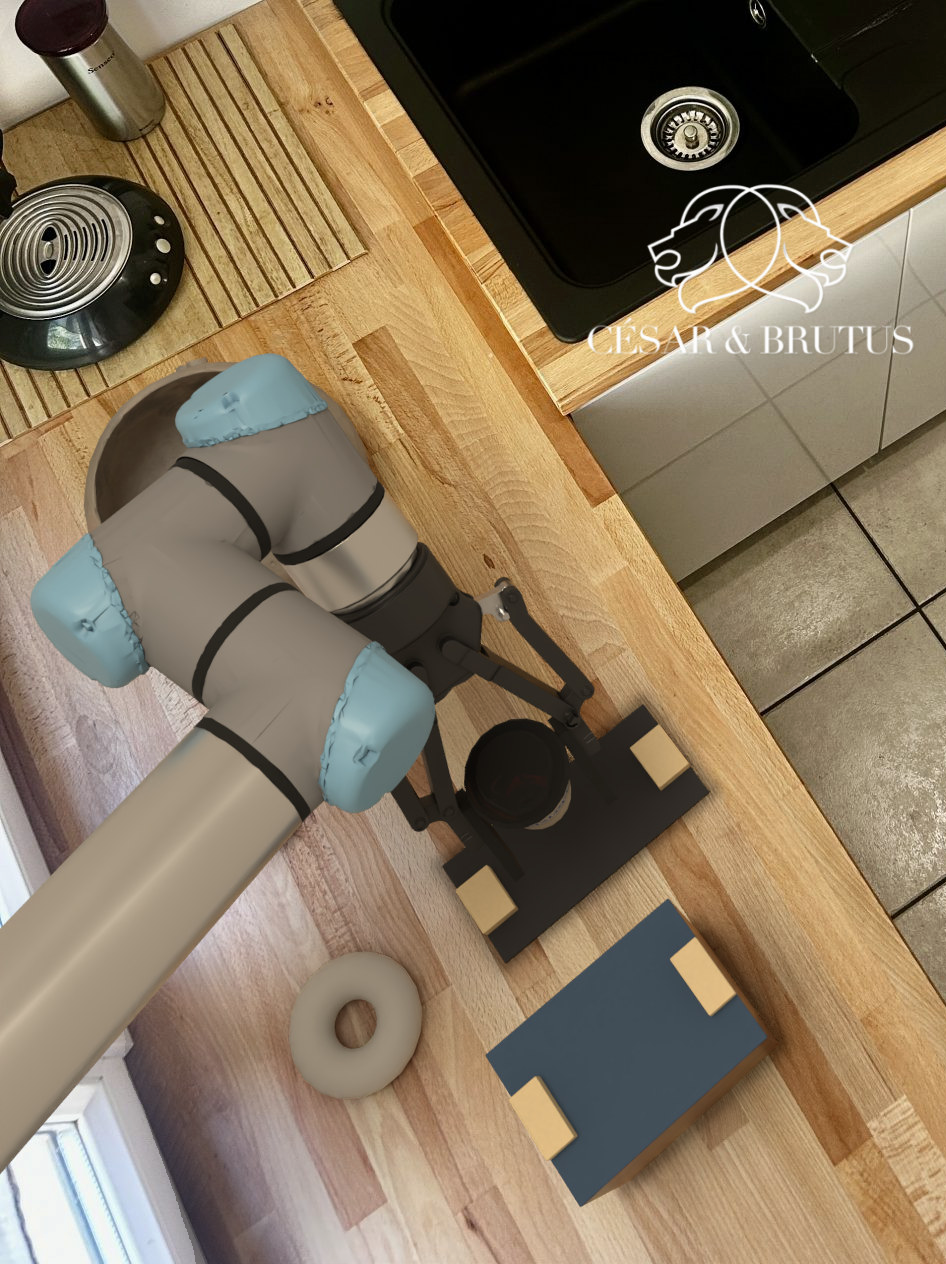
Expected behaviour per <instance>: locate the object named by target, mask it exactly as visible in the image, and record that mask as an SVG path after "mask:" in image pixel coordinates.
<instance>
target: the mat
mask: <svg viewBox="0 0 946 1264" xmlns="http://www.w3.org/2000/svg"><path fill="white" fill-rule="evenodd" d="M597 740H598V741H599V743H600V748H601V750H599V751H598V752H597V753H596V754H595V755H593V756H592V757H591V758H590V761H591V762H592V763H593V765H594V766H595V768H596V769H597V770H598V772H599V773H600V774H601V776H602V777H603V779H604V780H605V781H606V783H607V784H608V786H609V787H610V788H611V790H612V791H613V792H614V794H615V795H616V797H617V798H618V799H617V800H615V801H614V802H613V803H612V804H610V805H608V804H607V803H606V801H605V800H604V798H603V797H602V796H601V794H600V793H599V792H598V790H597V789H596V787H595V786H594V785H593V783H592V782H591V781H590V779H589V778H588V776H587V775H586V774H585V772H584V771H583V770H582V768H581V767H580V765H579V764H578V763H577V761H576V760H575V759H574V758H573V760H571V761H570V786H571V800H570V803H569V806H568V809H567V811H566V812H565V814H564V815H563V816H562V818H561V819H560V820H559V821H557V822H556V823H555V824H554V825H552V826H549V827H547V828H544V829H534V830H532V829H525V828H521V829H504V828H501V827H497V826H494V825H492V826H493V828H494V829H495V830H496V832H497V833H498V834H499V836H500V837H501V838H502V840H503V841H504V842H505V843H506V845H507V846H508V847H509V849H510V850H511V851H512V853H513V854H514V855H515V857H516V859H517V861H518V863H519V865H520V866H521V868H522V870H523V872H524V874H525V875H524V876H523V877H522V878H520V879H519V880H518V881H517V882H515V881H514V880H513V878H512V877H511V876H510V874H509V873H508V872H507V871H506V869H505V868H504V867H503V865H502V864H501V863H500V862H499V860H498V859H497V858H496V856H495V855H494V854H493V852H492V851H491V850H490V849H489V847H488V846H487V845H486V843H485V844H484V845H482V846H481V847H480V848H479V849H477V850H476V851H475V852H472V851H470V850H468V849H467V848H466V847H465V846H464V848H463V849H461V850H460V851H459V852H458V853H456V854H455V855H454V856H453V857H451V858H450V859H449V860H448V861H446V862H445V863H444V864H443V865H442V869H443V870H444V872H445V873H446V875H447V877H448V878H449V880H450V881H451V883H452V885H454V887H455V890H454V892H455V893H456V895H457V896H458V898H459V899H460V901H461V902H462V904H463V906H464V907H465V909H466V910H467V912H468V913H469V915H470V916H471V918H472V919H473V921H474V923H475V924H476V926H477V927H478V929H479V930H480V931H481V933H482V935H485V936H487V938H488V939H489V941H490V942H491V944H492V946H493V947H494V949H495V951H496V952H497V953H498V955H499V956H500V958H501V960H502V961H503V962H504V964H508V963H509V962H510V961H512V960H513V959H514V958H515V957H516V956H518V954H520V953H522V951H524V949H526V948H527V947H528V946H530V944H532V943H533V942H534V941H535V940H537V939H538V938H539V937H540V936H541V935H543V934H544V933H545V932H546V931H547V930H548V929H549V928H551V927H552V926H553V925H554V924H556V923H557V922H558V921H560V919H561V918H563V917H564V916H565V915H567V913H569V912H570V911H571V910H572V909H573V908H575V907H576V906H577V905H578V904H579V903H580V902H581V901H583V900H584V899H585V898H587V896H589V895H590V894H591V893H592V892H594V891H595V890H596V889H597V888H599V886H601V885H602V884H604V882H606V881H607V880H608V879H609V878H610V877H611V876H613V875H614V874H615V873H616V872H618V871H619V870H620V869H621V868H622V867H624V866H625V864H627V863H628V862H629V861H631V859H633V858H634V857H635V856H637V854H639V853H640V852H641V851H642V850H643V849H645V848H646V847H647V846H648V845H649V844H651V842H653V841H654V840H655V839H657V838H658V837H659V836H660V835H661V834H662V833H664V832H665V831H666V830H667V829H668V828H669V827H671V826H672V825H673V824H674V823H676V822H677V821H678V820H679V819H680V818H682V817H683V816H684V815H685V814H686V813H688V812H689V811H690V810H691V809H692V808H693V807H694V806H696V805H697V804H698V803H699V802H700V801H702V800H703V799H704V798H706V796H708V794H710V791H709V789H708V788H707V786H706V785H705V783H704V782H703V781H702V780H701V779H700V777H699V776H698V775H697V773H696V771H694V769H693V768H692V767H691V765H690V762H689V761H688V760H687V759H686V758H685V755H684V754H683V753H682V752H681V751H680V749H679V748H678V747H677V745H676V744H675V743H674V742H673V740H672V739H671V737H670V736H669V735H668V733H667V732H666V730H664V728H663V727H662V725H661V724H660V723H658V722H657V720H656V719H655V718H654V716H653V715H652V714H651V713H650V711H649V709H648V708H647V707H646V705H645V704H643V703H642V704H641V705H639V706H638V707H637V708H636V709H634V711H632V712H631V713H630V714H628V715H627V716H626V717H625V718H623V719H622V720H621V721H620V722H618V723H617V724H616V725H615V726H614V727H612V728H611V729H610V730H608V731H607V732H606V733H605V734H604V735H603V736H601V737H599V738H598V739H597Z"/></svg>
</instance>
